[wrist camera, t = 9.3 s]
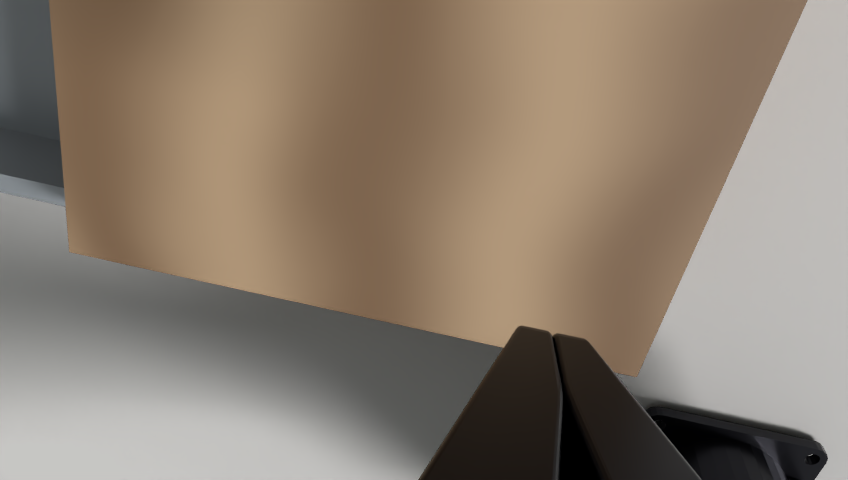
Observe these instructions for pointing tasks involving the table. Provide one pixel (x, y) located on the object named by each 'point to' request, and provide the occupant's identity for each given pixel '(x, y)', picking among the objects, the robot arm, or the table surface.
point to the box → (29, 104)
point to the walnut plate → (415, 151)
